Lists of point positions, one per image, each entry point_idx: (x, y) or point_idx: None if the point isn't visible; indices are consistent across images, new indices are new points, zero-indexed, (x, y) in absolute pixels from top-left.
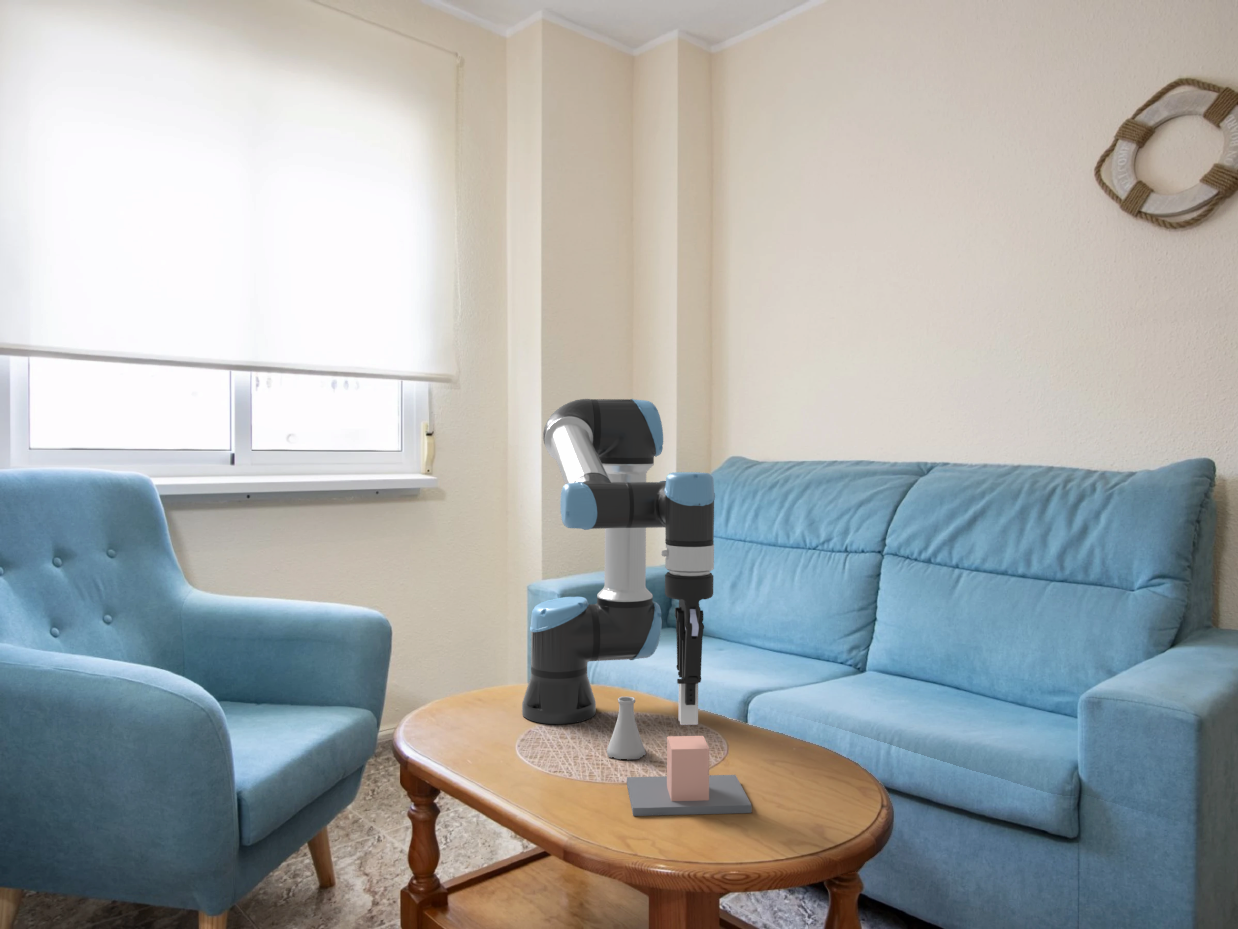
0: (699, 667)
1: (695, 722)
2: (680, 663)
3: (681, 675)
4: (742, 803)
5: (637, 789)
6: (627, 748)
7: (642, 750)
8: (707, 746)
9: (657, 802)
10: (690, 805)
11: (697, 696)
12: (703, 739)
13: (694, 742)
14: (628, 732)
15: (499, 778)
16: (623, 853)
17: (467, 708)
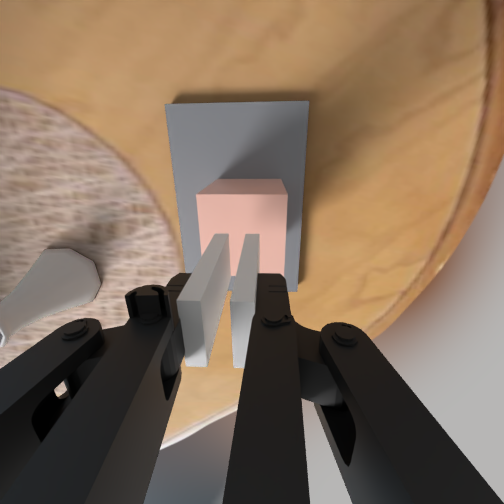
0: (425, 421)
1: (259, 242)
2: (161, 435)
3: (179, 369)
4: (299, 118)
5: (233, 280)
6: (84, 284)
7: (70, 257)
8: (272, 196)
9: None
10: (298, 212)
11: (256, 273)
12: (222, 198)
13: (243, 223)
14: (58, 295)
15: (179, 408)
16: (397, 305)
17: None
